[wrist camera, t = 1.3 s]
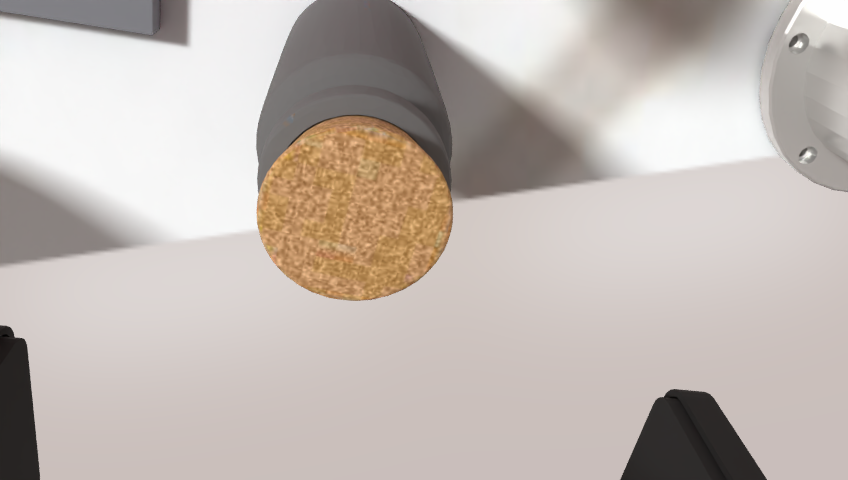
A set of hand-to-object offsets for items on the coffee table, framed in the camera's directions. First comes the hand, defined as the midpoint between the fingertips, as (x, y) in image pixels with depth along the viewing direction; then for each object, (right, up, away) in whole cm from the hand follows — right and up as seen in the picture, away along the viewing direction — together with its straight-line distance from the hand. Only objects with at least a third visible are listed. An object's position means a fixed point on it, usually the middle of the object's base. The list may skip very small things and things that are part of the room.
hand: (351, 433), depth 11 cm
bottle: (-2, +11, +19) cm, 22 cm away
